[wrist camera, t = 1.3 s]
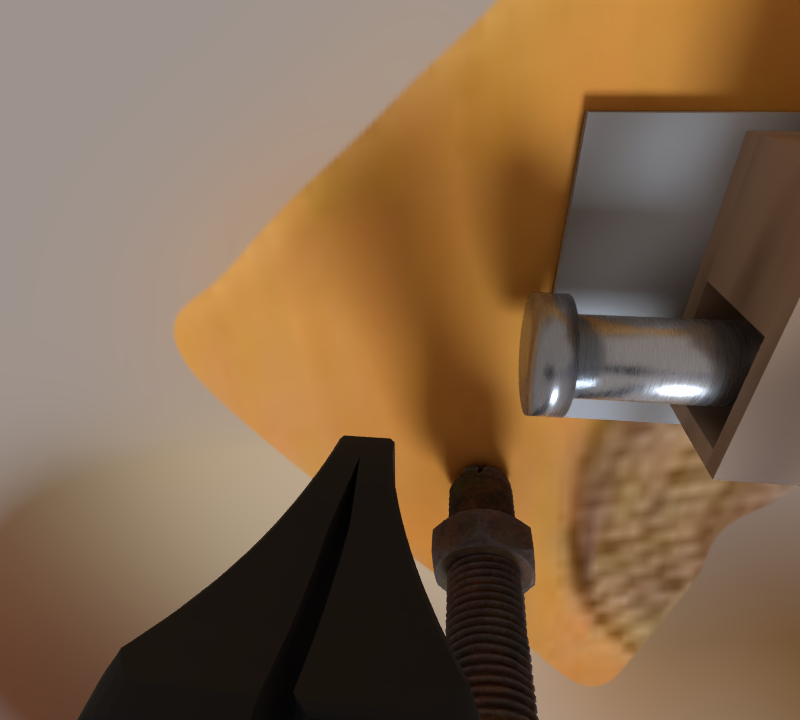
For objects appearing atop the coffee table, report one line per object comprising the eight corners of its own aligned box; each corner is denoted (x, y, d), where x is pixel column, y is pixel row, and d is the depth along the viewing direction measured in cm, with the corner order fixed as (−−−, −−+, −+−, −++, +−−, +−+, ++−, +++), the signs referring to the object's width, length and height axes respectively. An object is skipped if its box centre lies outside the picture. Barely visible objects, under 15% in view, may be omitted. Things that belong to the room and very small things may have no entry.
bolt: (554, 469, 25) (650, 904, 12) (507, 527, 28) (546, 933, 15) (448, 430, 24) (435, 849, 12) (410, 494, 27) (367, 888, 14)
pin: (808, 282, 17) (901, 346, 14) (759, 383, 20) (827, 461, 16) (529, 272, 18) (546, 330, 15) (515, 370, 21) (527, 441, 17)
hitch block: (987, 113, 15) (1237, 146, 10) (807, 426, 22) (906, 535, 17) (585, 110, 16) (638, 140, 11) (532, 409, 23) (551, 508, 18)
